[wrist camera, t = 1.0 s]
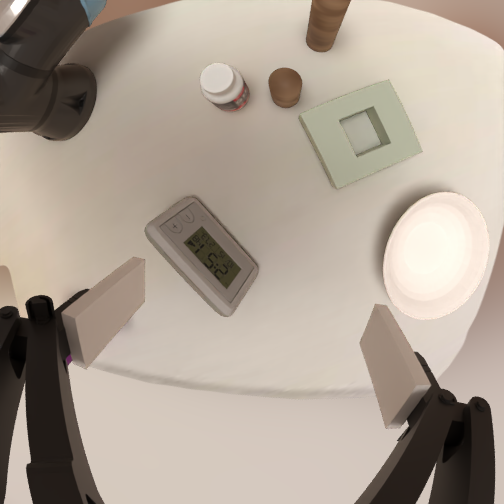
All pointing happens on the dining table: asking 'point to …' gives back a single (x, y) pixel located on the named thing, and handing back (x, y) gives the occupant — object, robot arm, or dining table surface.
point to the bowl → (436, 255)
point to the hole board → (338, 146)
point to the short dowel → (285, 87)
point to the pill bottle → (224, 87)
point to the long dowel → (325, 23)
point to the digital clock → (203, 254)
